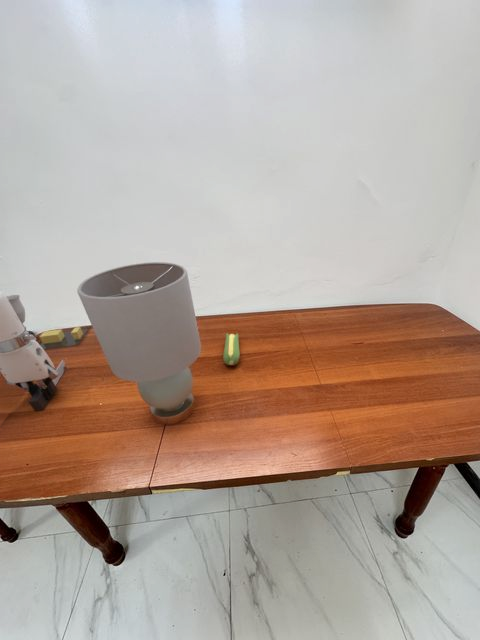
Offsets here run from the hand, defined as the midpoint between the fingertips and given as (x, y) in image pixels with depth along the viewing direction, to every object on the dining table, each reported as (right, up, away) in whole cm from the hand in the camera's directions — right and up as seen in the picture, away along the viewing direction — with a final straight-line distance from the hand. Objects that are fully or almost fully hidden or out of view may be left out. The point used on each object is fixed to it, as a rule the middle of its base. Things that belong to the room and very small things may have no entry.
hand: (45, 397), depth 82 cm
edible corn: (+51, +12, +16) cm, 55 cm away
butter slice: (-8, +18, +27) cm, 34 cm away
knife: (-1, +2, +5) cm, 6 cm away
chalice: (-25, +15, +28) cm, 40 cm away
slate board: (-13, +16, +27) cm, 34 cm away
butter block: (-16, +17, +26) cm, 35 cm away
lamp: (+38, -2, -5) cm, 38 cm away
